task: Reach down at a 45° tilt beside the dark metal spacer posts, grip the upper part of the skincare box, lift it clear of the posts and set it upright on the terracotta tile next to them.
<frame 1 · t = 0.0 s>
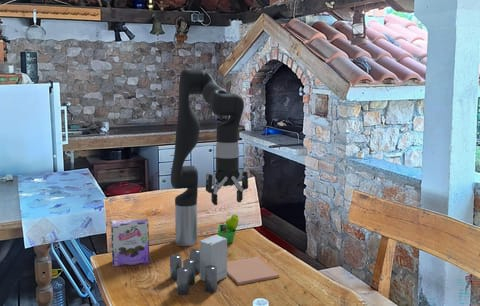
hand: (227, 203, 159), 29 cm above the table, tool pointing down, fingers open, 8 cm apart
terracotta tile: (248, 271, 176), on the table
candy box: (130, 262, 183), on the table
potted cactus: (228, 240, 208), on the table
skincare box: (213, 279, 169), on the table
spacer posts: (213, 278, 169), on the table
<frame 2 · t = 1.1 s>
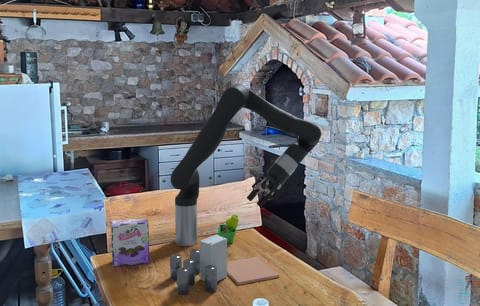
hand: (253, 202, 171), 26 cm above the table, tool tilted 45°, fingers open, 8 cm apart
nothing on the table moved.
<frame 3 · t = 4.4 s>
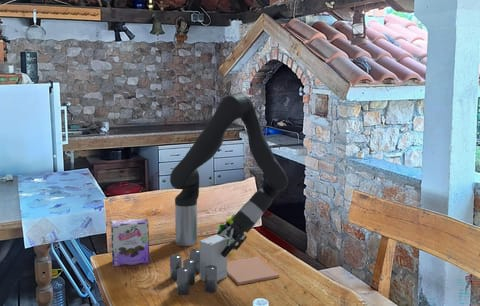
hand: (218, 251, 168), 10 cm above the table, tool tilted 45°, fingers open, 8 cm apart
skincare box: (213, 279, 169), on the table, touching gripper
everything else where it was.
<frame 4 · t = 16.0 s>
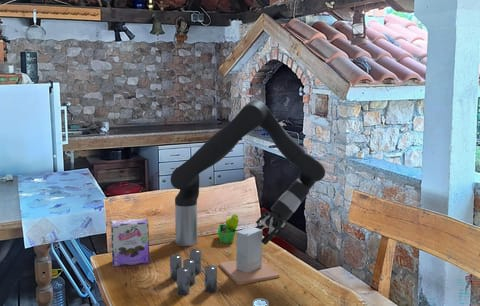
hand: (258, 239, 175), 12 cm above the table, tool tilted 45°, fingers open, 8 cm apart
skincare box: (249, 269, 176), point 1 cm above the table, touching terracotta tile
everything else where it was.
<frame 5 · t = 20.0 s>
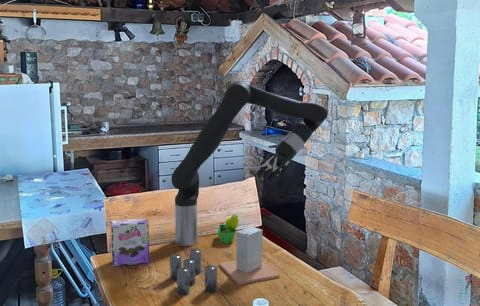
hand: (262, 178, 180), 33 cm above the table, tool tilted 45°, fingers open, 8 cm apart
nothing on the table moved.
at the end: skincare box inside the target area (0.3 cm from its centre), point 0.8 cm above the table; skincare box tilted 0°; the gripper is holding nothing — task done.
